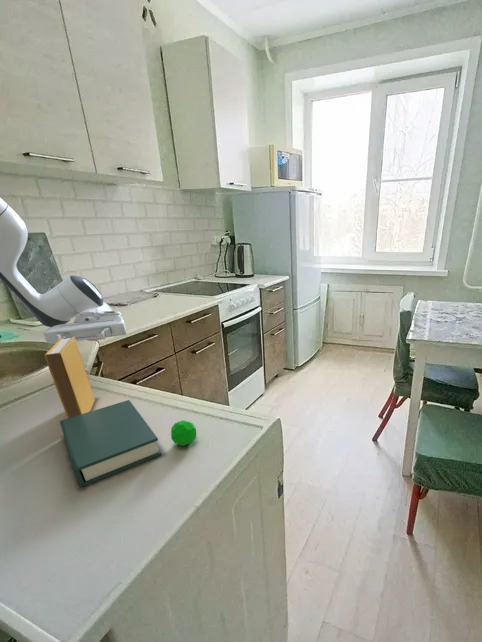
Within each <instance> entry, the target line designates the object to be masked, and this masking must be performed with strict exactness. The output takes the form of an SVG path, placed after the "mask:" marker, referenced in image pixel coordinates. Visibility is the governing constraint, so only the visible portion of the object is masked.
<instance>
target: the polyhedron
mask: <svg viewBox="0 0 482 642" xmlns="http://www.w3.org/2000/svg"><path fill="white" fill-rule="evenodd" d="M170 435H171V436H170V437H171V440H172V441H173V443H174V444H176V445H178V446H182V447H183V446H184V447H185V446H188V445H190V444H192V443H194V441H195V440H196V438H197V427H196V426H195V424H194V423H193V422H191V421H189V420H185V419H184V420H183V419H182V420H180V421H177V422H175V423H173V425H172V427H171V430H170Z"/></svg>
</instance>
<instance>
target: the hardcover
mask: <svg viewBox="0 0 482 642" xmlns="http://www.w3.org/2000/svg"><path fill="white" fill-rule="evenodd" d="M59 424H60V427H61V431H62V433H63V437H64V440H65V443H66V447H67V450H68V453H69V457H70V460H71V464H72V467H73V470H74V472H75V475H76V478H77V480H78V483H79V485H80V487H81V488H84V487H87V486H89V485H91V484H94V483H96V482H98V481H101V480H104V479H106V478H109V477H111V476H114V475H116V474H118V473H121V472H124V471H126V470H128V469H131V468H133V467H136V466H138V465H141V464H144V463H146V462H148V461H151V460H153V459H156V458H158V457H160V456H162V452H161V450H160V449H159V447H158V441H159V439H158V437H157V435H156V434H155V432H154V431H153V430H152V429H151V427H150V426H149V424H148V423H147V422H146V420H145V419H144V417H142V415H141V413H140V412H139V410H137V408H136V407H135V406H134V404H133V403H132V402H131V400H130V399H127V400H124V401H120V402H117V403H114V404H111V405H107V406H104V407H100V408H98V409H94V410H90V412H88V413H84V414H81V415H78V416H75V417H71V418H65V419H62V420H59Z"/></svg>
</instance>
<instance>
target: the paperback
mask: <svg viewBox="0 0 482 642" xmlns="http://www.w3.org/2000/svg"><path fill="white" fill-rule="evenodd" d="M43 356H44V358H45V359H44V360H45V361H46V364H47V367H48V369H49V372H50V375H51V377H52V380H53V383H54V385H55V388H56V392H57V394H58V396H59V399H60V402H61V404H62V407H63V411H64V412H65V416H66V419H68V418H71V417H75V416H78V415H81V414H84V413H88V412H91V411H92V408H93V406H94V403H95V402H96V399H95V395H94V393H93V392H94V391H93V389H92V386H91V383H90V380H89V377H88V374H87V370H86V368H85V367H86V366H85V365H84V361H83V359H82V356H81V352H80V350H79V346H78V343H77V341H76V340H75V337H74V336H73V337H72V338H67V339H62V338H60V339H59V340H58V341H57V342H56V343H55V344H52V347H50V348H49V349H48V350H47V352H45V354H44V355H43Z"/></svg>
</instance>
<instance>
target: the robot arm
mask: <svg viewBox="0 0 482 642" xmlns="http://www.w3.org/2000/svg"><path fill="white" fill-rule="evenodd" d="M26 225H27V224H26V223H25V221H24V220H23V219H22V218H21V217H20V215H19V214H18V213H17V212H16V211H15V210H14V209H13V208H12V207H11V206H10V205H9V204H8V203H7V202H6V201H4V199H3V198H2V197H0V280H1V281H2V282H3V283H4V284H5V285H6V286H7V287H8V288H9V289H10V290H11V292H12V293H13V294H14V295H15V296H17V298H18V299H19V300H20V301H21V302H22V303H23V304H24V305H25V306H26V307H27V308H28V309H29V311H30V313H31V314H32V315H33V317H35V319H37V321H38V322H39V323H40V324H42V325H43V326H45V327H48V328H47V329H46V330H44V331H43V337H44V339H45V342H46V344H47V345H54V344H55V343H56V342H57V341H58V340H59V339H60V338H62V339H67V338H72V337H73V336H74V337H75V340H76V342H80V341H89V342H96V341H100V340H105V339H106V338H113V337H120V336H121V337H122V336H125V335H127V331H128V330H127V328H126V323H125V320H124V318H123V316H122V314H121V312H120V311H117V310H113V309H112V308H111V306H110V305H109V304H108V303H107V302H105V301H104V297H103V294H102V293H101V291H100V290H99V289H98V288H97V287H96V286H95V284H94V283H92V282H91V281H90V280H88V279H87V278H84V277H82V276H79V275H70V276H69V277H66V278H65V279H64V280H62V281H61V282H59V283H58V284H56V285H55V286H54V287H52V288H50V289H49V290H48V291H46V292H44V293H39V292H37V290H36V289H35V288H34V287H33V286H32V285H31V284H30V283H29V281H28V280H27V279H26V278H25V277H24V276H23V275H22V274H21V273H20V271H19V269H18V267H17V266H18V265H17V264H18V261H19V259H20V257H21V255H22V254H23V252H24V250H25V248H26V245H27V242H28V238H29V233H28V232H29V231H28V227H27V226H26ZM72 319H74V320H73V322H70V321H71V320H72ZM69 322H70V323H69Z"/></svg>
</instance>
